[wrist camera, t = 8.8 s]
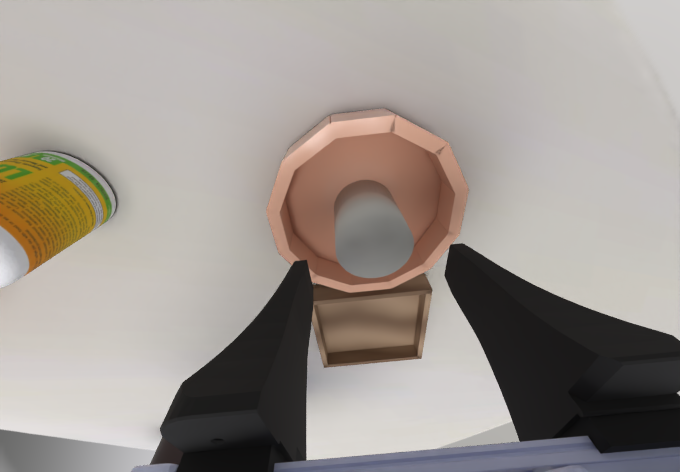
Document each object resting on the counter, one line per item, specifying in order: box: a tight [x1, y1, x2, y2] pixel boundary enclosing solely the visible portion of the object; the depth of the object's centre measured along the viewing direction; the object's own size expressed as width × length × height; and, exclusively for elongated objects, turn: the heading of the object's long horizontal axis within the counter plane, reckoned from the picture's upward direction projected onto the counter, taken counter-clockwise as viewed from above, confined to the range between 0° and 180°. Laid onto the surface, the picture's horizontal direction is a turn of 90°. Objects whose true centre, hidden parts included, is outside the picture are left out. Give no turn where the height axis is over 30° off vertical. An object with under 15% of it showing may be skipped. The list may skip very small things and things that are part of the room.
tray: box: [312, 274, 432, 368], centre depth 25 cm, size 11×11×2 cm
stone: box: [334, 180, 414, 278], centre depth 16 cm, size 4×4×5 cm
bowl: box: [266, 108, 469, 293], centre depth 17 cm, size 13×13×3 cm
